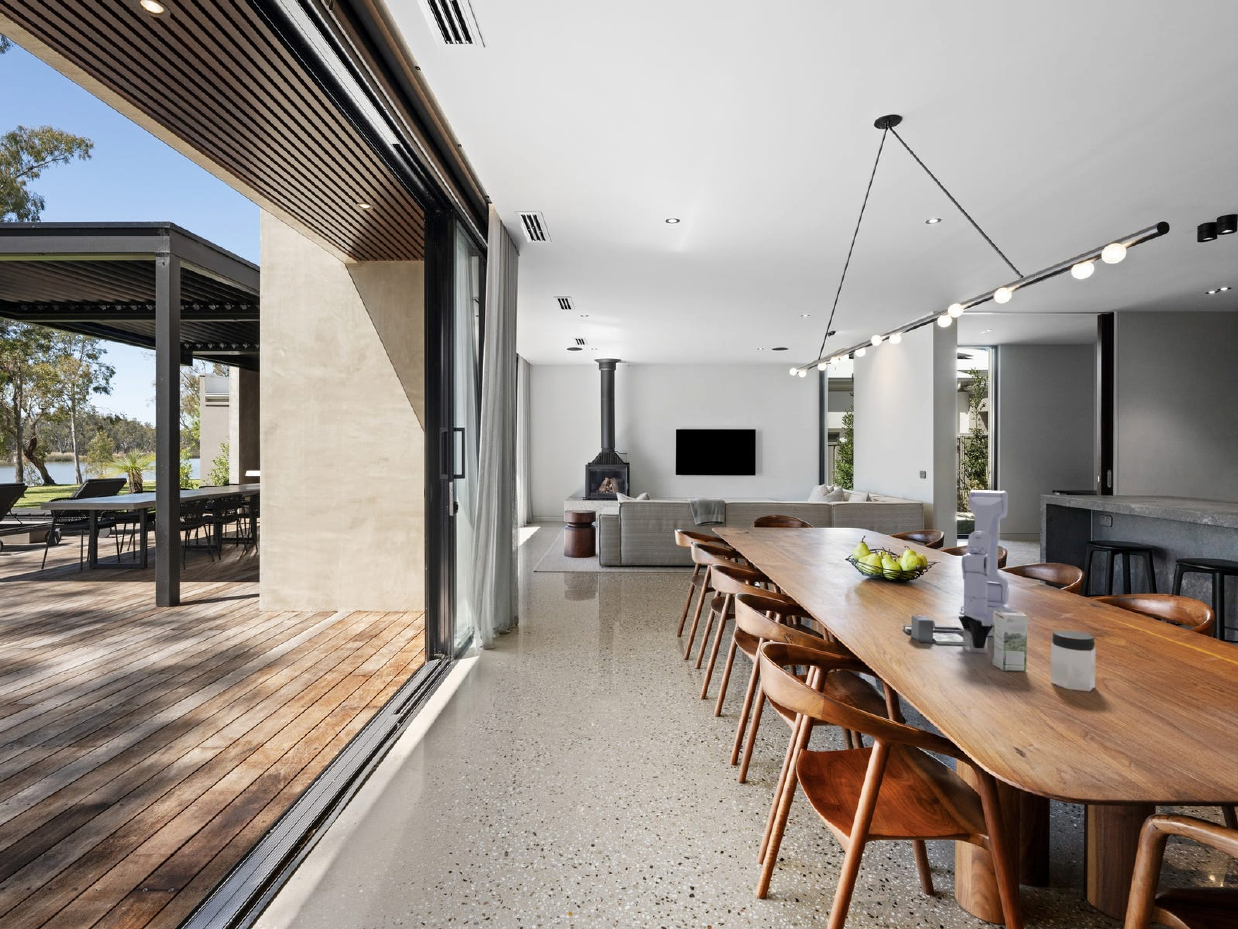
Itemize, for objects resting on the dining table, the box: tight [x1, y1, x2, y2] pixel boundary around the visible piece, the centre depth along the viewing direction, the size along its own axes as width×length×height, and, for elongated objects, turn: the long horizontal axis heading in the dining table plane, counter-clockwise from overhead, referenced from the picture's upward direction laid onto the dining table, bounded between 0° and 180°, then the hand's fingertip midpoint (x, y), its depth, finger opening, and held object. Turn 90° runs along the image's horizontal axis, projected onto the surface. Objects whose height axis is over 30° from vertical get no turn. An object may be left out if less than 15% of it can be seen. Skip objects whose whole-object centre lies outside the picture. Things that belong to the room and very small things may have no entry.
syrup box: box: [991, 609, 1029, 673], centre depth 164 cm, size 6×6×14 cm
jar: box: [1050, 629, 1096, 692], centre depth 152 cm, size 9×8×12 cm
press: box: [902, 614, 963, 646], centre depth 192 cm, size 17×15×6 cm
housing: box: [962, 627, 988, 654], centre depth 179 cm, size 4×4×6 cm
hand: (974, 645), depth 179 cm, fingers closed on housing, 4 cm apart
